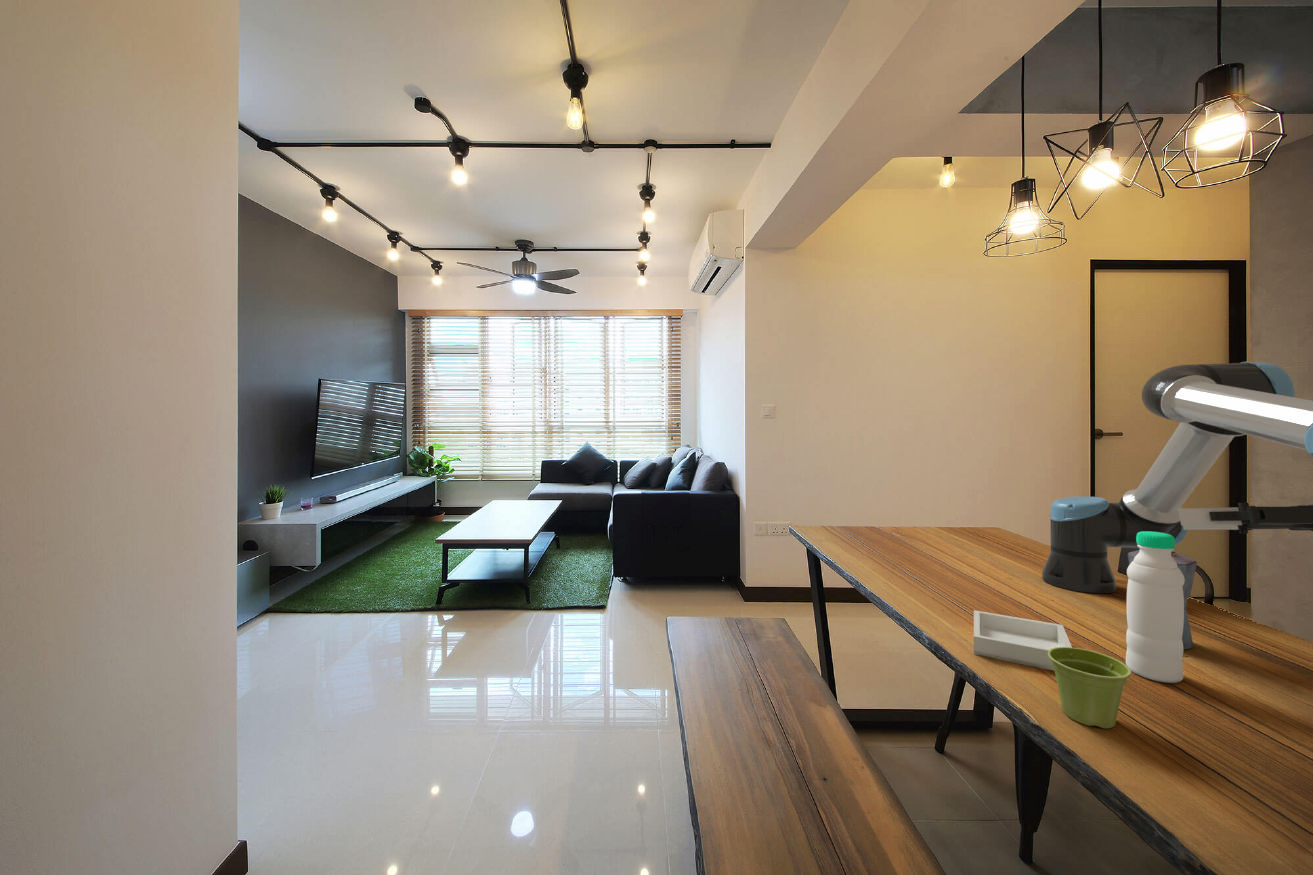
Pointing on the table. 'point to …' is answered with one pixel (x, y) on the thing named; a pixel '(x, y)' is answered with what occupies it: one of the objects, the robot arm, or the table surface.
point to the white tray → (1017, 639)
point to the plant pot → (1089, 685)
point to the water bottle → (1155, 610)
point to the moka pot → (1188, 571)
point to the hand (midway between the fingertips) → (1180, 519)
